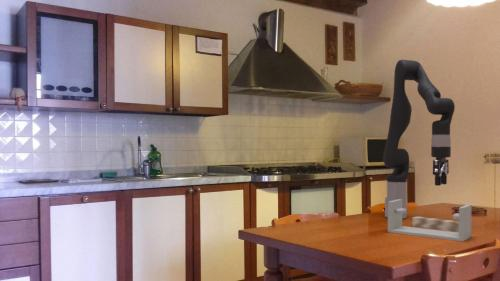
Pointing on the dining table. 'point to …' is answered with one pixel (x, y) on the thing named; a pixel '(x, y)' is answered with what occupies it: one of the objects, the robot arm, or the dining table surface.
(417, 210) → the dining table surface
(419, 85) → the robot arm
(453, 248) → the dining table surface
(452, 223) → the shelf board
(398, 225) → the grey c-shaped frame
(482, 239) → the dining table surface
